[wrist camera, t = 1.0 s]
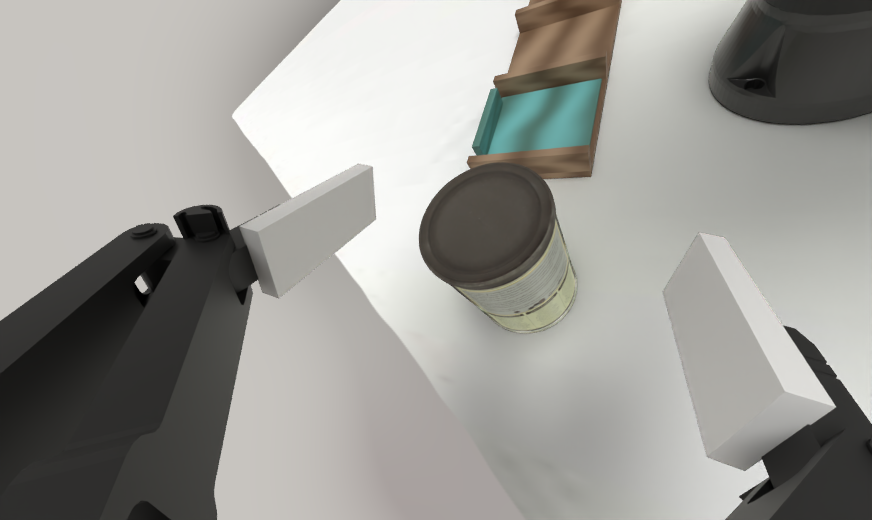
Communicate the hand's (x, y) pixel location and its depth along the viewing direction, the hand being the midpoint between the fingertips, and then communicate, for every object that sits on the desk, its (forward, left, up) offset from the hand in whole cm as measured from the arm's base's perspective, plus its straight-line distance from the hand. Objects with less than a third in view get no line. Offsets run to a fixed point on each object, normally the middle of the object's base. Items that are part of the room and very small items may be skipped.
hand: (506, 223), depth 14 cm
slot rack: (+8, -40, -21) cm, 46 cm away
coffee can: (+5, -4, -21) cm, 22 cm away
